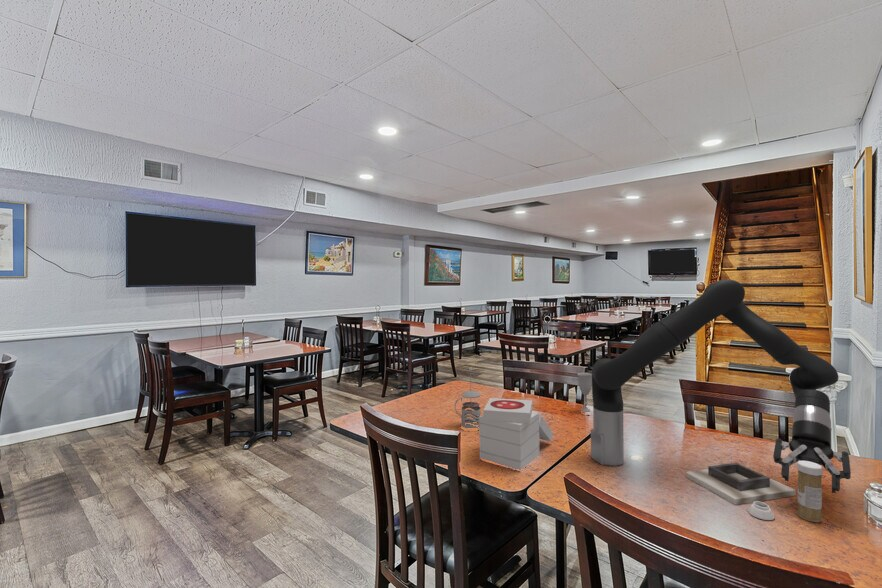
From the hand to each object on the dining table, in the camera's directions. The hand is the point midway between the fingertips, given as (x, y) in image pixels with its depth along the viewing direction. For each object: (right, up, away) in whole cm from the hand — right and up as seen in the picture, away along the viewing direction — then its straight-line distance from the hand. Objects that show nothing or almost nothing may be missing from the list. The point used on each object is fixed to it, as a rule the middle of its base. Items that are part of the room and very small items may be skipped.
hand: (809, 485), depth 98 cm
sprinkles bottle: (0, -8, 0) cm, 8 cm away
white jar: (-11, -9, +2) cm, 14 cm away
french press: (-79, -8, +67) cm, 104 cm away
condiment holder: (-5, -8, +16) cm, 19 cm away
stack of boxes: (-64, -9, +41) cm, 77 cm away
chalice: (-25, -7, +83) cm, 87 cm away
